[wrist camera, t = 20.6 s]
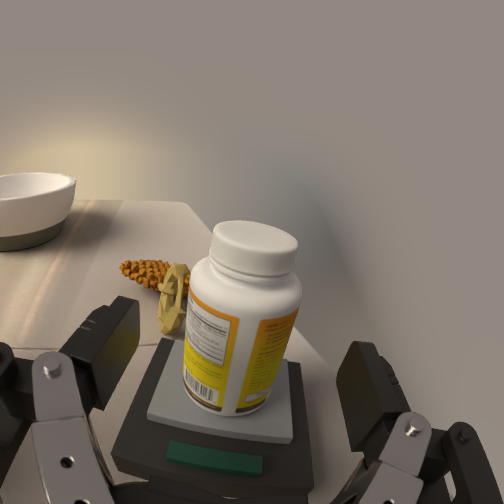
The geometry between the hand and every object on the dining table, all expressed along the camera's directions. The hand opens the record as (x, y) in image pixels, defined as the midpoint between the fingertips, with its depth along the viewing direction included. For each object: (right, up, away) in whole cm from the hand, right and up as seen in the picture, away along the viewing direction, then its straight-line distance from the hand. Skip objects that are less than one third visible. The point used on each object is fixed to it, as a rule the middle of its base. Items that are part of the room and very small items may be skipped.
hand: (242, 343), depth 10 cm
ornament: (-9, -2, +20) cm, 22 cm away
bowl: (-39, +7, +27) cm, 48 cm away
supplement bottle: (-1, -5, +7) cm, 9 cm away
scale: (-2, -9, +7) cm, 11 cm away
